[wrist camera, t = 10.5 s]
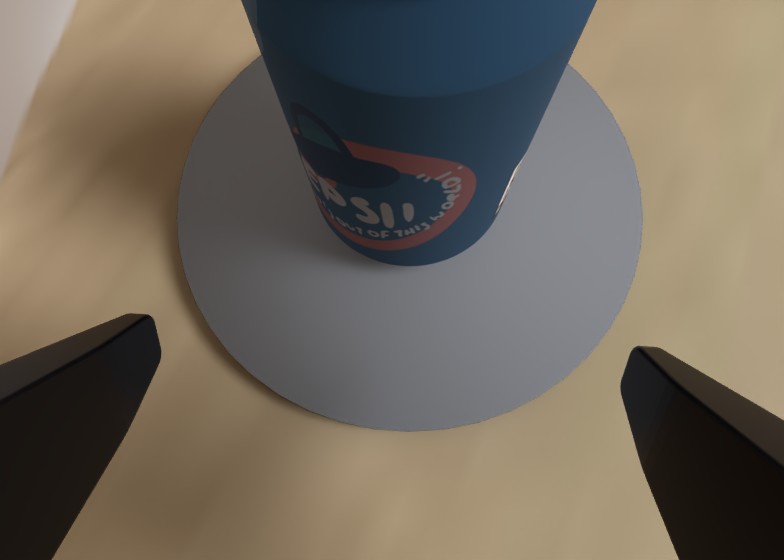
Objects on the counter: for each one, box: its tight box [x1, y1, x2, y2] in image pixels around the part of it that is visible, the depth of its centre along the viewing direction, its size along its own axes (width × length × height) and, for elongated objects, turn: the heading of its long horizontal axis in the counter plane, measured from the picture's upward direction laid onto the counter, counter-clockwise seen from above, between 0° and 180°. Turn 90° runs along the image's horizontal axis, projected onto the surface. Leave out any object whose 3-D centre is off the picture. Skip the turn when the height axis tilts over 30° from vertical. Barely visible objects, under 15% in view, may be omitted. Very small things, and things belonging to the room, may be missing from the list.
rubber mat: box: [177, 55, 643, 432], centre depth 19 cm, size 18×18×1 cm
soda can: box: [241, 0, 597, 266], centre depth 13 cm, size 7×7×12 cm
